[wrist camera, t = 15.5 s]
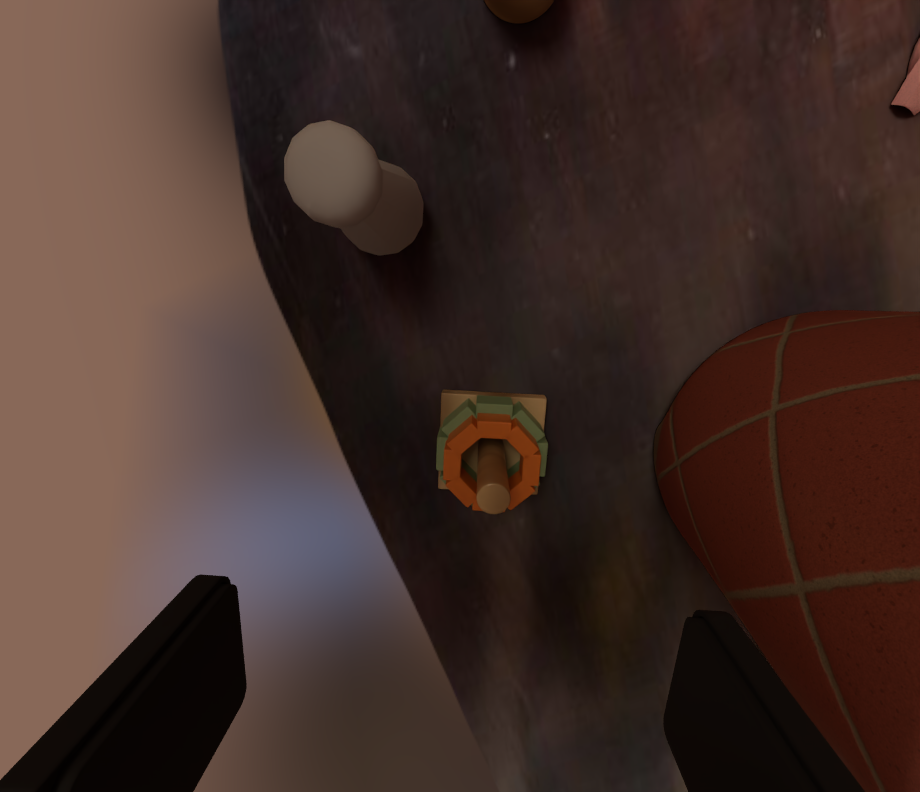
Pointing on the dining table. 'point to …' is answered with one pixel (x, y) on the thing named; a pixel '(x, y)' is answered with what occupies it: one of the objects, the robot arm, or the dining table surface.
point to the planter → (815, 517)
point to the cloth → (911, 84)
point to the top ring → (494, 429)
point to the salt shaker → (352, 188)
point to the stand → (518, 9)
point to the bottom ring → (493, 407)
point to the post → (491, 449)
